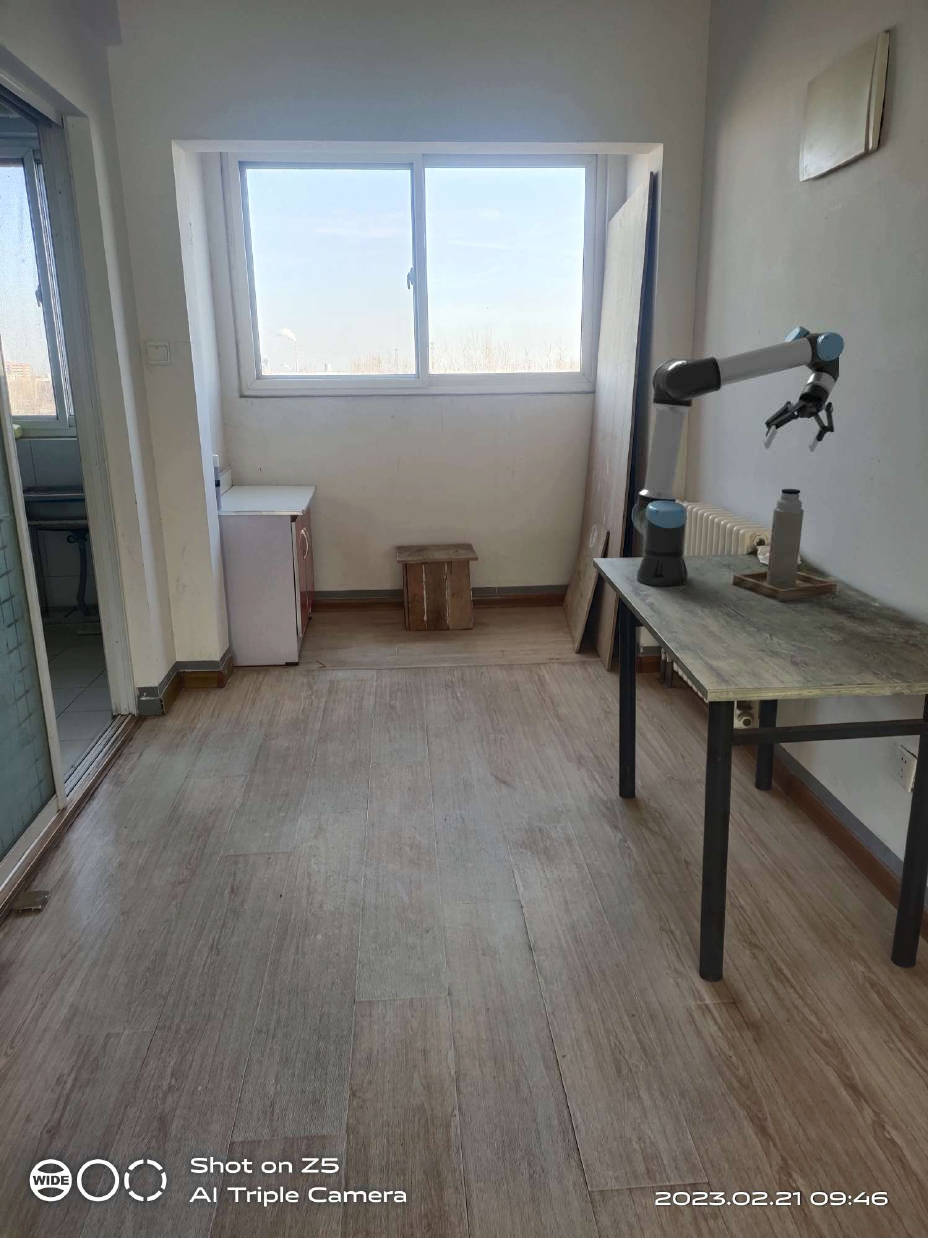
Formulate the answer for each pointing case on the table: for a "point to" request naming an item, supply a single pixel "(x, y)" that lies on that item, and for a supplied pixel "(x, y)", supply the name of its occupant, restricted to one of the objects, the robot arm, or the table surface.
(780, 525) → the thermos bottle
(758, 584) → the walnut tray
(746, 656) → the table surface
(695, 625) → the table surface
